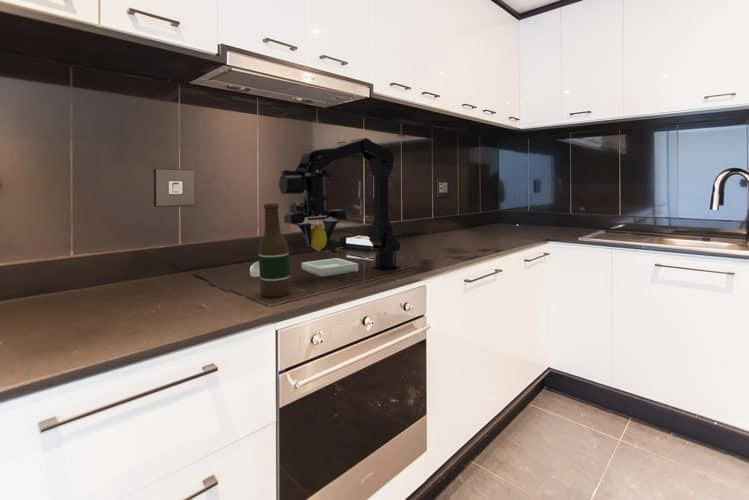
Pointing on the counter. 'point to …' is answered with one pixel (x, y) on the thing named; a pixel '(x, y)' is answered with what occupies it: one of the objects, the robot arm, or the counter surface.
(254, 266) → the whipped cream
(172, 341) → the counter surface
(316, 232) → the lemon
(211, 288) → the counter surface
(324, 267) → the tray
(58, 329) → the counter surface
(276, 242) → the beer bottle
